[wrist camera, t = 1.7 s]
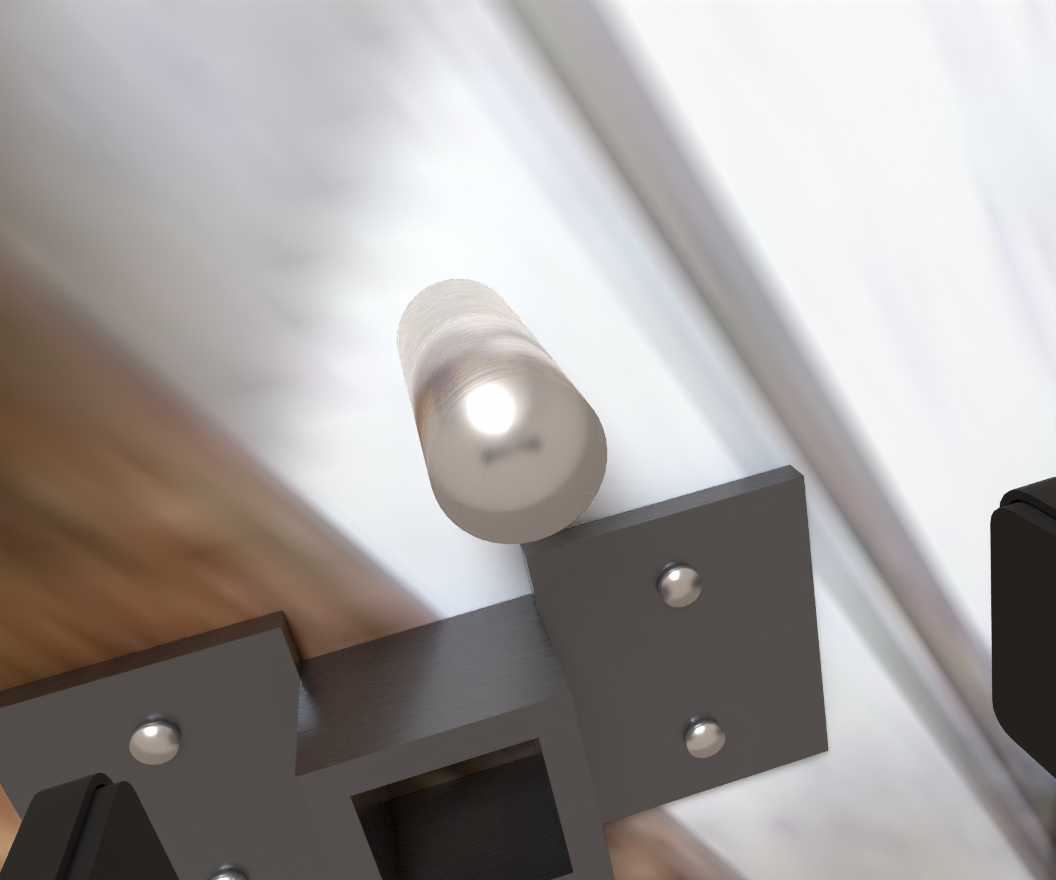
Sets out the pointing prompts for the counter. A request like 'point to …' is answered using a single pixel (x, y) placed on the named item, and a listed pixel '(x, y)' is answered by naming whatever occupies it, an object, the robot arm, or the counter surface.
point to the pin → (496, 417)
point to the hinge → (465, 709)
